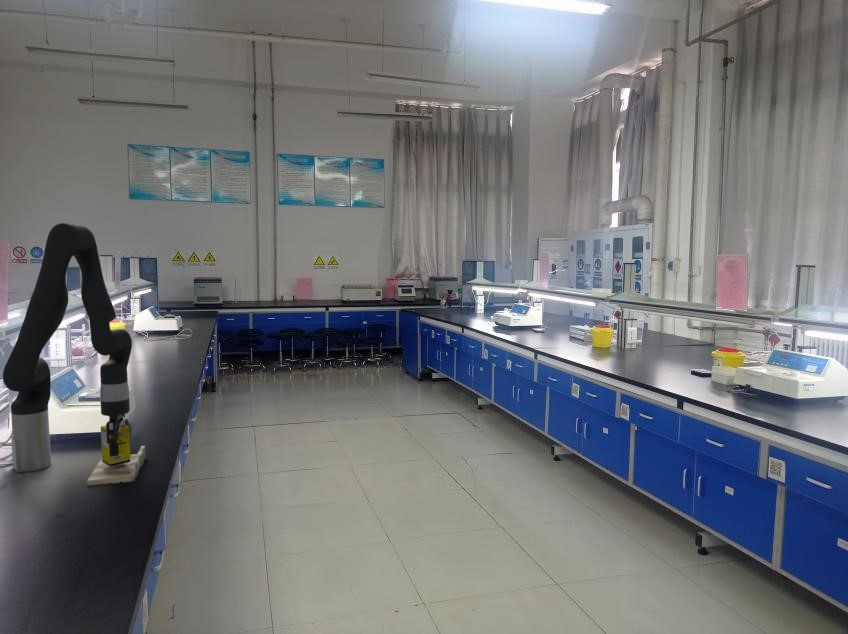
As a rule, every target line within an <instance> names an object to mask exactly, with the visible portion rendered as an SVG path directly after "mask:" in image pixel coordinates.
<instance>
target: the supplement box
mask: <svg viewBox="0 0 848 634" xmlns="http://www.w3.org/2000/svg"><path fill="white" fill-rule="evenodd" d="M118 430H119V429H118ZM118 430H117V432H118ZM111 431H112V430H111ZM100 439H101V444H100V445H101V459H102V462H103V463H105V464H107V465H108V466H110V467H111V466H115V465H119V464H123V463H128V462H130V455H131V442H130V426H129V425H127V424H126V423H125V424H123V426H122V427H121V435H120V436H119V442H118V449H119V454H118V456H110V448H109V444H107V431H106V425H101V426H100ZM111 439H114V436H111Z"/></svg>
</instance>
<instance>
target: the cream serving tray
mask: <svg viewBox="0 0 848 634" xmlns="http://www.w3.org/2000/svg"><path fill="white" fill-rule="evenodd" d="M145 460H146V445H141V446H140V448H139V450H138V452H137V453H133V454H131V453H130V462H128V463H123V464H119V465H115V466H111V467H110V466H108V465H107V464H105V463H103V462H102V458H101V459H100V460H99V462H98V463H97V465H96V466H95V468H94V469H93V471H92V472H91V474H90V475H89V477H88V479H87V480H86V484H87V485H86V486H99V485H100V486H101V485H109V483H111V484H121V483H120V482H123V483H132V481H134V482H136V480H137V478H138V475H139V473H140V471H141V469H142V467H141V466H143V464H144V462H145ZM140 468H141V469H140ZM135 479H136V480H135Z"/></svg>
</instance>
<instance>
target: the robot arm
mask: <svg viewBox="0 0 848 634" xmlns="http://www.w3.org/2000/svg"><path fill="white" fill-rule="evenodd" d="M99 256H100V255H99V251H98V246H97V241H96V238H95V236H94V233H93V231H92V230H91V229H90V228H89V227H87V226H85V225H81V224H75V223H69V222H67V223H64V222H60V223H57V224H55V225H54V226H53V227H52V228H51V229H50V231H49V233H48V235H47V239H46V241H45V247H44V252H43V258H42V261H41V267H40V269H39V273H38V277H37V279H36V282H35V285H34V289H33V292H32V294H31V297H30V299H29V303H28V305H27V309H26V311H25V316H24V318H23V322H22V324H21V327H20V330H19V332H18V337H17V339H16V342H15V344H14V347H13V349H12V351H11V353H10V355H9V357H8V360H7V361H6V363H5V365H4V368H3V371H2V381H3V384H4V386H5V387H6V388H7V389H8V390H10V391H12V392H17V393H18V394H17V396H16V398H15V399H14V400H13V401H12V403H10V417H11V430H12V431H11V432H12V433H11V434H12V435H11V437H10V438H11V440H10V441H11V453H12V454H11V455H12V468H13V469H14V471H15V473H26V472H27V473H29V472H35V471H40V470H43V469H46V468H48V467H50V466H51V465H52V455H51V438H50V437H51V436H50V435H51V434H50V420H49V402H50V400H51V389H52V388H51V377H52V376H51V369H50V367H49V364H48V362H47V361H46V360H45V359H44V358H42V357H41V354H42V351H43V350H44V348H45V346H46V344H47V343H48V342H49V340H51V338H52V337H53V336H54V334H55V332H57V330H58V328H59V327H60V325H61V324H62V322H63V320H64V316H65V314H66V311H67V307H68V305H69V291H68V286H67V280H66V276H67V275H66V274H67V272H68V271H67V270H68V269H69V265H70V262H71V260H72V257H74V258H75V261H76V262H77V264H78V266H79V271H80V275H81V289H80V293H81V296H80V297H81V301H82V304H83V307H84V309H85V312H86V315H87V317H88V320H89V331H90V341H91V346H92V347H93V349H94V350H95V352H96V353H97V354H98V355H100V356H105V357H106V356H108V360H107V361H105V362H104V363H102V364H101V365H100V368H99V369H100V370H99V371H100V372H99V375H100V387H99V388H100V389H99V396H100V398H99V399H100V413H101V415H102V416H104V417H105V416H106V417H108V420H107V422H106V424H105V426H106V431H107V444H109V448H110V456H118V454H119V449H118V442H119V436H120V435H121V427H122V426H123V424H125V425H126V414H129V412H130V411H131V409H130V407H131V406H130V404H131V403H130V388H129V383H128V381H129V380H128V379H129V378H128V365H129V362H130V357H131V353H132V352H131V351H132V349H133V347H132V346H133V340H132V337H131V334H130V333H129V332H128V331H127V330H126V329H123V328H114V329H111V325H110V323H111V322H113V321H114V320H115V319H116V318H117V314H116V310H115V308H114V305H113V302H112V300H111V297H110V294H109V292H108V289H107V285H106V284H105V278H104V275H103V270H102V265H101V260H100V257H99ZM118 429H119V430H118ZM111 430H112V431H111ZM117 430H118V432H117ZM111 436H114V439H111Z"/></svg>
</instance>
